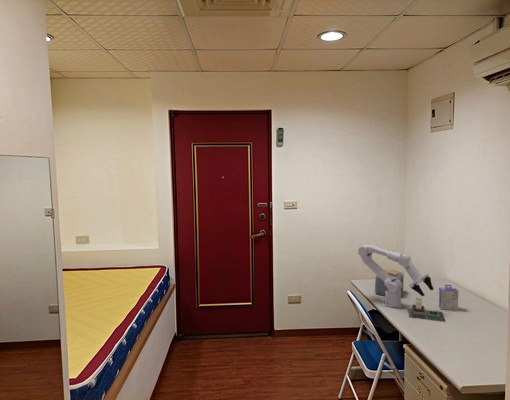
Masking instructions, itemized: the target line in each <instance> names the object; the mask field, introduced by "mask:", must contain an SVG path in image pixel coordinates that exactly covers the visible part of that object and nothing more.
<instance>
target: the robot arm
mask: <svg viewBox="0 0 510 400" xmlns="http://www.w3.org/2000/svg"><path fill="white" fill-rule="evenodd" d="M357 252H358V253H357V255H359V256H360V258H361V260H362V263H363V264H364V265H366V266H367V267H368V269H370V270H371V271H372V272H373V273H374V274H375V275H376V276H377V275H378V276H379V277H380V278H381V279H382V280H383V281H384V282H385V286H386V287H387V288H388V290H389V291H386V293H385V299H384V305H385V307H389V308H399V309H402V299H401V298H402V293H401V288H402V286H403V287H404V284H403V285H402V282H401V281H400V280H398V279H396V278H395V277H392V276H390V275H389V274H388V273H387V272H386V271H384V270H385V269H383V268H382V266H380V265H379V263H377V262H376V261H375V260H373V258H372V257H373V256H372V254H373V253H375V254H378V255H382V256H385V257H386V258H387V259H388V260H390V261H393V262H396V263H398V264H399V265H400V266H402V267H403V269H404V270H405V271H406V273H407V274H408V275H409V277H410V278H411V279H412V282H411V283H409V284H408V286H409V287H410V289H411V290H412V291H415V292H416V293H418V294H419V296H421V297H424V296H425V293H424V292H423V290H422V288H421V287H420V284H419V283H421V282H423V283H424V284H425V285H426V286H427V287H428V289H429V290H430V291H433V290H435V288H434V287H433V284H432V279H431V277H430V275H429V274H428V273H426V274H424V275H422V274H421V273H420V271H419V270H418V269H417V267H416V266H415V264H414V263H413V262H412V260H411V259H412V258H411V256H410V255H409V254H407V253H402V252H397V251H396V250H395V249H393V250H386V249H383V248H382V247H378V246H376V245H374V244H370V243H365V244H364V245H360V246H359V247H358V251H357Z"/></svg>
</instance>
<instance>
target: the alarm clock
mask: <svg viewBox="0 0 510 400" xmlns="http://www.w3.org/2000/svg"><path fill="white" fill-rule="evenodd" d="M383 270H384V271H386V272H387V273H388V274H389V275H390V276H392V277H395V278H396V279H398V280H400V281H401V282H402V285H403V286H402V288H401V294H403V292H404V278H405V276H404V273H403V272H401V271H397V270H393V269H392V270H391V269H383ZM374 282H375V284H374V287H375V288H374V293H375V294H376V295H380V296H385V293H386V291H389V290H388V288H387V287H386V286H385V282H384V281H383V280H382V279H381V278H380V277H379V276H378V275H376V276H375V281H374Z"/></svg>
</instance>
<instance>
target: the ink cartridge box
mask: <svg viewBox="0 0 510 400" xmlns="http://www.w3.org/2000/svg"><path fill="white" fill-rule="evenodd" d="M444 286H445V287H439V288H438V308H439V309H440V310H446V311H447V310H448V311H458V310H459V290H458V289H457V288H456V287H455V288H453V287H452V284H444Z"/></svg>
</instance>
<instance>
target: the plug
mask: <svg viewBox="0 0 510 400" xmlns="http://www.w3.org/2000/svg"><path fill="white" fill-rule="evenodd" d="M415 305H416V306H415V308H416V309H422V306H423V300H422V298H418V297H415Z"/></svg>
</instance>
